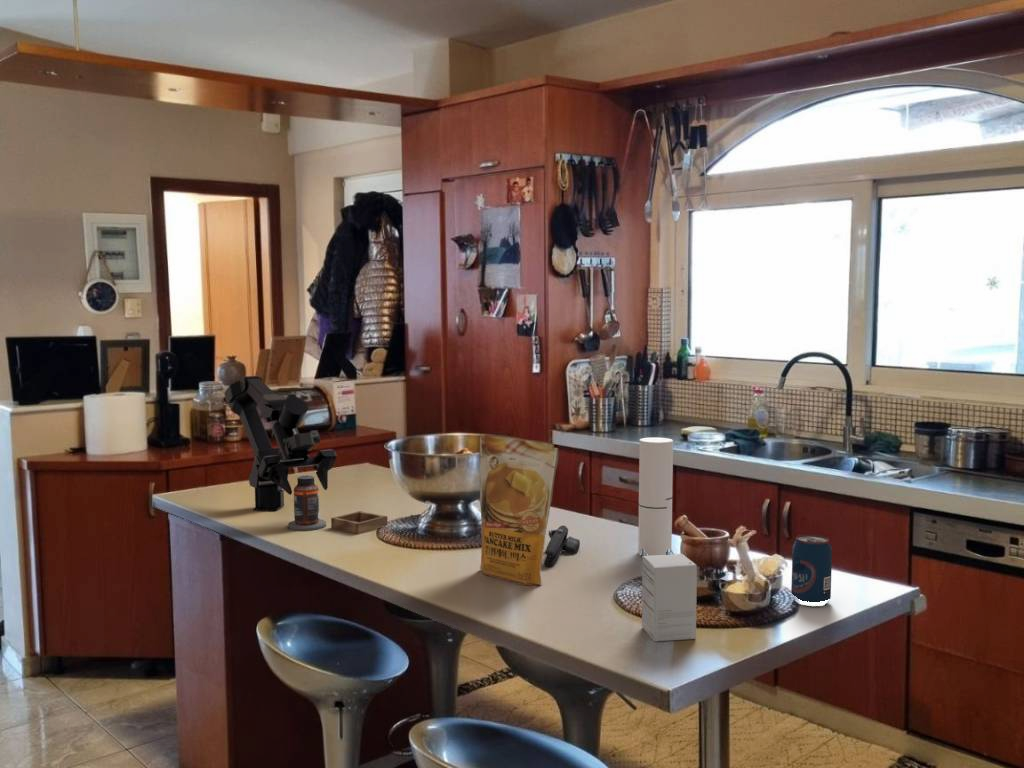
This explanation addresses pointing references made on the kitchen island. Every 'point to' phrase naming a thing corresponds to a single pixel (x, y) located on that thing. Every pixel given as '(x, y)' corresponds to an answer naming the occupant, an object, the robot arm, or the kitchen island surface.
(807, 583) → the soda can
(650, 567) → the supplement box
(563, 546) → the can opener
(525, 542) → the pancake mix bag
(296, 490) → the supplement bottle
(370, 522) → the pocket
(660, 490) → the cylindrical container
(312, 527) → the coaster
